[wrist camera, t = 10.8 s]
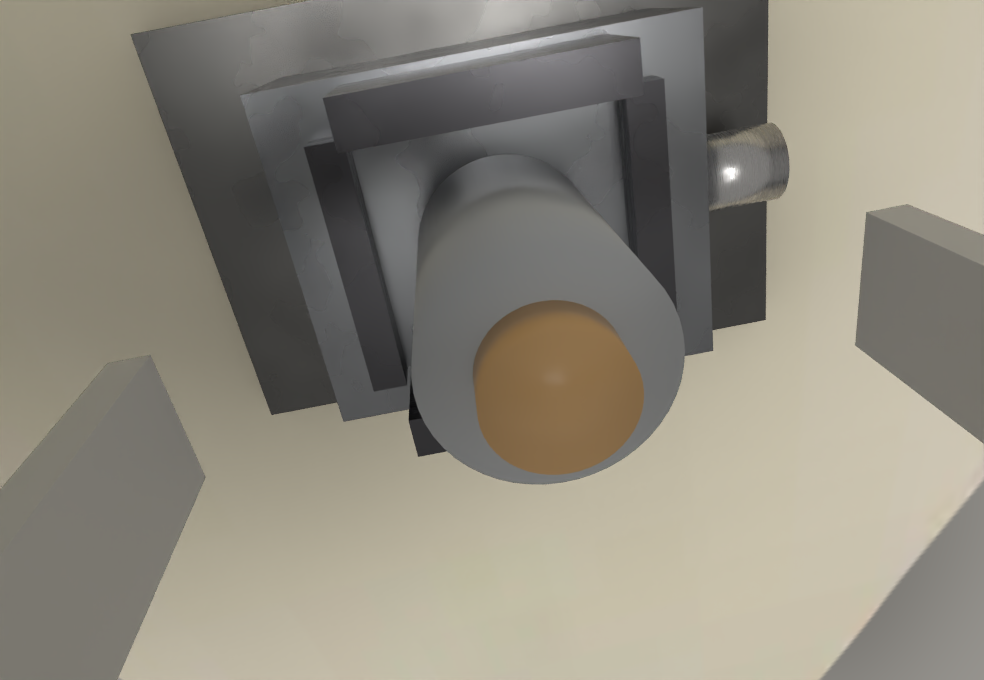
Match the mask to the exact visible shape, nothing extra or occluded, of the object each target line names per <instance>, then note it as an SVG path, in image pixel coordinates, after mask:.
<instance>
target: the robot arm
mask: <svg viewBox="0 0 984 680" xmlns="http://www.w3.org/2000/svg"><path fill="white" fill-rule="evenodd" d="M855 345H856V346H857V347H858V348H859V349H861V350H862V351H863V352H865V353H866V354H867V355H869V356H870V357H871V358H873V359H874V360H875V361H876V362H878V363H879V364H880V365H882V366H883V367H884V368H886V369H887V370H888V371H890V372H891V373H892V374H893V375H895V376H896V377H897V378H899V379H900V380H901V381H903V382H904V383H905V384H907V385H908V386H909V387H910V388H912V389H913V390H914V391H916V392H917V393H918V394H920V395H921V396H922V397H924V398H925V399H926V400H927V401H929V402H930V403H931V404H933V405H934V406H935V407H937V408H938V409H939V410H941V411H942V412H943V413H944V414H946V415H947V416H948V417H950V418H951V419H952V420H954V421H955V422H956V423H957V424H959V425H960V426H961V427H963V428H964V429H965V430H967V431H968V432H969V433H971V434H972V435H973V436H974V437H976V438H977V439H978V440H980V441H981V442H982V443H984V235H983V234H980V233H978V232H975V231H973V230H970V229H968V228H965V227H963V226H960V225H958V224H955V223H953V222H950V221H948V220H945V219H943V218H940V217H938V216H935V215H933V214H930V213H928V212H925V211H923V210H920V209H918V208H915V207H913V206H910V205H908V204H906V205H901V206H896V207H891V208H886V209H881V210H876V211H871V212H866V222H865V234H864V246H863V258H862V270H861V282H860V294H859V306H858V319H857V331H856V343H855ZM204 480H205V475H204V473H203V470H202V468H201V466H200V464H199V462H198V459H197V457H196V455H195V453H194V450H193V448H192V446H191V444H190V442H189V439H188V437H187V435H186V433H185V431H184V428H183V426H182V424H181V422H180V419H179V417H178V415H177V413H176V411H175V408H174V406H173V404H172V402H171V400H170V397H169V395H168V393H167V391H166V389H165V386H164V384H163V382H162V380H161V377H160V375H159V373H158V371H157V369H156V366H155V364H154V362H153V360H152V358H151V355H147V356H142V357H137V358H132V359H127V360H122V361H117V362H112V363H107V365H106V366H105V367H104V368H103V369H102V370H101V372H100V373H99V374H98V375H97V376H96V377H95V379H94V380H93V381H92V382H91V383H90V385H89V386H88V387H87V388H86V389H85V390H84V392H83V393H82V394H81V395H80V396H79V398H78V399H77V400H76V401H75V402H74V403H73V405H72V406H71V407H70V408H69V409H68V410H67V412H66V413H65V414H64V415H63V416H62V418H61V419H60V420H59V421H58V422H57V423H56V425H55V426H54V427H53V428H52V429H51V431H50V432H49V433H48V434H47V435H46V436H45V438H44V439H43V440H42V441H41V442H40V443H39V445H38V446H37V447H36V448H35V449H34V451H33V452H32V453H31V454H30V455H29V456H28V458H27V459H26V460H25V461H24V462H23V464H22V465H21V466H20V467H19V468H18V469H17V471H16V472H15V473H14V474H13V475H12V476H11V478H10V479H9V480H8V481H7V482H6V484H5V485H4V486H3V487H2V488H1V489H0V680H117V679H118V677H119V674H120V672H121V670H122V668H123V665H124V663H125V661H126V658H127V656H128V654H129V652H130V649H131V647H132V645H133V642H134V640H135V638H136V635H137V633H138V631H139V629H140V626H141V624H142V622H143V619H144V617H145V615H146V613H147V610H148V608H149V606H150V603H151V601H152V599H153V596H154V594H155V592H156V590H157V587H158V585H159V583H160V580H161V578H162V576H163V574H164V571H165V569H166V567H167V564H168V562H169V560H170V558H171V555H172V553H173V551H174V548H175V546H176V544H177V541H178V539H179V537H180V535H181V532H182V530H183V528H184V525H185V523H186V521H187V519H188V516H189V514H190V512H191V509H192V507H193V505H194V502H195V500H196V498H197V496H198V493H199V491H200V489H201V486H202V484H203V482H204Z"/></svg>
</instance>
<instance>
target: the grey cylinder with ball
mask: <svg viewBox="0 0 984 680" xmlns="http://www.w3.org/2000/svg"><path fill="white" fill-rule="evenodd" d="M684 357H685V346H684V335H683V330H682V326H681V322H680V318H679V316H678V313H677V311H676V309H675V306H674V304H673V302H672V300H671V299H670V297H669V295H668V294H667V292H666V291H665V289H664V288H663V287H662V285H661V284H660V283H659V282H658V281H657V279H656V278H655V277H654V276H653V275H652V274H651V272H650V271H649V270H648V269H647V268H646V267H645V266H644V265H643V263H642V262H641V261H640V260H639V259H638V258H637V257H636V255H635V254H634V253H633V252H632V251H631V250H630V249H629V247H628V246H627V245H626V244H625V243H624V242H623V241H622V240H621V238H620V237H619V236H618V235H617V234H616V233H615V232H614V230H613V229H612V228H611V227H610V226H609V225H608V224H607V222H606V221H605V220H604V219H603V218H602V217H601V216H600V215H599V213H598V212H597V211H596V210H595V209H594V208H593V207H592V205H591V204H590V203H589V202H588V201H587V200H586V199H585V197H584V196H583V195H582V194H581V193H580V192H579V191H578V189H577V188H576V187H575V186H574V185H573V184H572V183H571V182H570V180H569V179H568V178H566V177H565V176H564V175H563V174H562V173H561V172H560V171H558V170H557V169H555V168H554V167H552V166H551V165H549V164H547V163H544V162H542V161H540V160H537V159H534V158H531V157H527V156H522V155H512V154H502V155H493V156H488V157H484V158H481V159H478V160H475V161H473V162H470V163H468V164H466V165H464V166H463V167H461V168H459V169H458V170H456V171H455V172H454V173H452V174H451V175H450V176H448V177H447V178H446V179H445V180H444V181H443V182H442V183H441V184H440V185H439V187H438V188H437V189H436V190H435V192H434V193H433V195H432V196H431V198H430V200H429V201H428V203H427V205H426V208H425V210H424V212H423V215H422V219H421V222H420V228H419V235H418V252H417V271H416V289H415V307H414V325H413V344H412V362H411V379H412V386H413V393H414V397H415V400H416V404H417V407H418V410H419V412H420V414H421V416H422V419H423V421H424V423H425V425H426V426H427V428H428V429H429V431H430V432H431V434H432V435H433V437H434V438H435V439H436V440H437V441H438V442H439V443H440V444H441V446H442V447H443V448H444V449H445V450H446V451H448V452H449V453H450V454H451V455H452V456H453V457H455V458H456V459H457V460H459V461H460V462H462V463H463V464H465V465H467V466H468V467H470V468H472V469H474V470H476V471H478V472H480V473H482V474H485V475H488V476H491V477H493V478H496V479H500V480H504V481H509V482H513V483H523V484H552V483H561V482H567V481H571V480H576V479H580V478H583V477H586V476H589V475H592V474H595V473H597V472H599V471H601V470H603V469H606V468H608V467H610V466H612V465H613V464H615V463H617V462H618V461H620V460H622V459H623V458H625V457H626V456H628V455H629V454H630V453H632V452H633V451H634V450H636V449H637V448H638V447H639V446H640V445H641V444H642V443H643V442H644V441H645V440H647V439H648V438H649V437H650V435H651V434H652V433H653V432H654V431H655V430H656V428H657V427H658V426H659V425H660V423H661V422H662V420H663V419H664V417H665V416H666V414H667V413H668V411H669V409H670V407H671V405H672V403H673V401H674V399H675V397H676V394H677V392H678V389H679V386H680V383H681V379H682V373H683V368H684Z"/></svg>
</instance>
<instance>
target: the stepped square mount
mask: <svg viewBox="0 0 984 680" xmlns="http://www.w3.org/2000/svg"><path fill="white" fill-rule="evenodd" d="M131 37H132V40H133V43H134V45H135V48H136V51H137V53H138V56H139V59H140V61H141V64H142V67H143V70H144V72H145V75H146V78H147V80H148V83H149V86H150V88H151V91H152V94H153V96H154V99H155V102H156V105H157V107H158V110H159V113H160V115H161V118H162V121H163V123H164V126H165V129H166V132H167V134H168V137H169V140H170V142H171V145H172V148H173V150H174V153H175V156H176V158H177V161H178V164H179V167H180V169H181V172H182V175H183V177H184V180H185V183H186V185H187V188H188V191H189V194H190V196H191V199H192V202H193V204H194V207H195V210H196V212H197V215H198V218H199V220H200V223H201V226H202V229H203V231H204V234H205V237H206V239H207V242H208V245H209V247H210V250H211V253H212V256H213V258H214V261H215V264H216V266H217V269H218V272H219V274H220V277H221V280H222V282H223V285H224V288H225V291H226V293H227V296H228V299H229V301H230V304H231V307H232V309H233V312H234V315H235V317H236V320H237V323H238V326H239V328H240V331H241V334H242V336H243V339H244V342H245V344H246V347H247V350H248V353H249V355H250V358H251V361H252V363H253V366H254V369H255V371H256V374H257V377H258V379H259V382H260V385H261V388H262V390H263V393H264V396H265V398H266V401H267V404H268V406H269V409H270V412H271V415H274V414H279V413H284V412H289V411H295V410H300V409H305V408H310V407H315V406H321V405H326V404H331V403H336V402H337V403H338V406H339V409H340V412H341V415H342V418H343V421H344V422H345V421H350V420H355V419H360V418H365V417H371V416H376V415H381V414H386V413H391V412H397V411H402V410H407V409H409V424H410V428H411V431H412V435H413V439H414V443H415V446H416V450H417V454H418V457H419V456H425V455H430V454H435V453H440V452H445V451H446V450H445V449H444V448H443V447H442V446H441V444H440V443H439V442H438V441H437V440H436V439H435V438H434V437H433V435H432V434H431V432H430V431H429V429H428V428H427V426H426V425H425V423H424V421H423V419H422V416H421V414H420V412H419V410H418V407H417V404H416V400H415V397H414V393H413V386H412V379H411V362H412V344H413V325H414V307H415V289H416V271H417V252H418V235H419V228H420V222H421V219H422V215H423V212H424V210H425V208H426V205H427V203H428V201H429V200H430V198H431V196H432V195H433V193H434V192H435V190H436V189H437V188H438V187H439V185H440V184H441V183H442V182H443V181H444V180H445V179H446V178H447V177H448V176H450V175H451V174H452V173H454V172H455V171H456V170H458V169H459V168H461V167H463V166H464V165H466V164H468V163H470V162H473V161H475V160H478V159H481V158H484V157H488V156H493V155H502V154H512V155H522V156H527V157H531V158H534V159H537V160H540V161H542V162H544V163H547V164H549V165H551V166H552V167H554V168H555V169H557V170H558V171H560V172H561V173H562V174H563V175H564V176H565V177H566V178H568V179H569V180H570V182H571V183H572V184H573V185H574V186H575V187H576V188H577V189H578V191H579V192H580V193H581V194H582V195H583V196H584V197H585V199H586V200H587V201H588V202H589V203H590V204H591V205H592V207H593V208H594V209H595V210H596V211H597V212H598V213H599V215H600V216H601V217H602V218H603V219H604V220H605V221H606V222H607V224H608V225H609V226H610V227H611V228H612V229H613V230H614V232H615V233H616V234H617V235H618V236H619V237H620V238H621V240H622V241H623V242H624V243H625V244H626V245H627V246H628V247H629V249H630V250H631V251H632V252H633V253H634V254H635V255H636V257H637V258H638V259H639V260H640V261H641V262H642V263H643V265H644V266H645V267H646V268H647V269H648V270H649V271H650V272H651V274H652V275H653V276H654V277H655V278H656V279H657V281H658V282H659V283H660V284H661V285H662V287H663V288H664V289H665V291H666V292H667V294H668V295H669V297H670V299H671V300H672V302H673V304H674V306H675V309H676V311H677V313H678V316H679V318H680V322H681V326H682V330H683V335H684V346H685V356H687V355H693V354H698V353H703V352H708V351H713V333H712V330H715V329H721V328H726V327H731V326H736V325H741V324H747V323H752V322H757V321H762V320H766V203H767V201H768V200H773V199H778V198H780V197H781V196H782V195H783V193H784V191H785V189H786V187H787V183H788V178H789V156H788V150H787V146H786V142H785V139H784V137H783V135H782V133H781V131H780V130H779V128H778V127H777V126H776V125H775V124H773V123H767V84H768V0H309V1H304V2H298V3H293V4H288V5H283V6H277V7H272V8H267V9H262V10H256V11H251V12H246V13H240V14H235V15H230V16H225V17H219V18H214V19H209V20H204V21H198V22H193V23H188V24H183V25H177V26H172V27H167V28H162V29H156V30H151V31H146V32H141V33H135V34H131Z"/></svg>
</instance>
